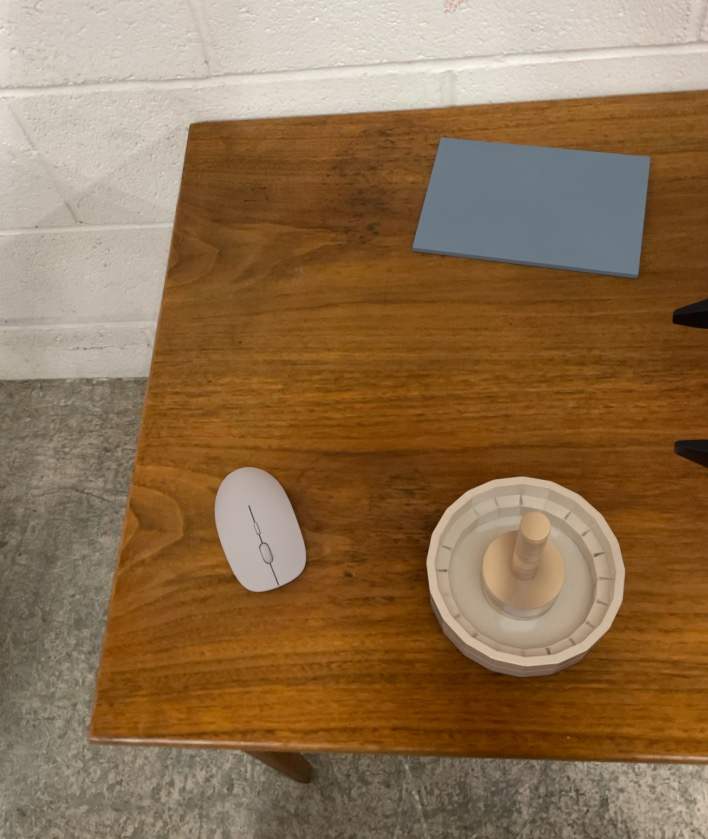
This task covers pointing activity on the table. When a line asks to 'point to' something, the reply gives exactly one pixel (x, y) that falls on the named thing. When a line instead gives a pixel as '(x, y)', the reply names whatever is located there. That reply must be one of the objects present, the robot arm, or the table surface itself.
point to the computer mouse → (258, 530)
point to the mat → (536, 206)
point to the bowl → (576, 603)
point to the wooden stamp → (523, 570)
